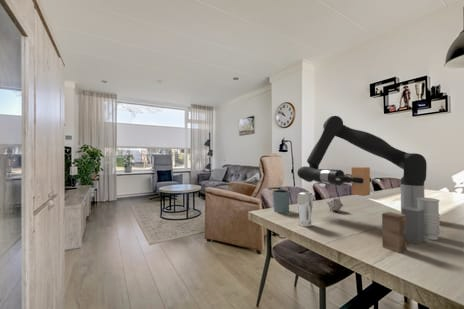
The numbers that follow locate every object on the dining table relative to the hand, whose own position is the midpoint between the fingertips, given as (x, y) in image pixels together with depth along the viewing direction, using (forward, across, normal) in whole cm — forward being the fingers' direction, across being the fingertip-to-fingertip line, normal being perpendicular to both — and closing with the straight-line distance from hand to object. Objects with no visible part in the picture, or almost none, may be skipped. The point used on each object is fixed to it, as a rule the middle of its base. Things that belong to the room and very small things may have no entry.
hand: (366, 180), depth 91 cm
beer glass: (-19, -17, +22) cm, 34 cm away
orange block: (-3, 0, +6) cm, 7 cm away
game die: (-28, +16, +22) cm, 39 cm away
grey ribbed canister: (+15, +14, +22) cm, 30 cm away
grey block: (+14, +5, +22) cm, 27 cm away
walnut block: (+14, -9, +22) cm, 28 cm away
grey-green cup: (-43, -10, +22) cm, 49 cm away
